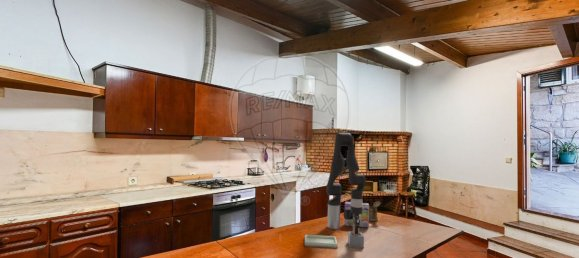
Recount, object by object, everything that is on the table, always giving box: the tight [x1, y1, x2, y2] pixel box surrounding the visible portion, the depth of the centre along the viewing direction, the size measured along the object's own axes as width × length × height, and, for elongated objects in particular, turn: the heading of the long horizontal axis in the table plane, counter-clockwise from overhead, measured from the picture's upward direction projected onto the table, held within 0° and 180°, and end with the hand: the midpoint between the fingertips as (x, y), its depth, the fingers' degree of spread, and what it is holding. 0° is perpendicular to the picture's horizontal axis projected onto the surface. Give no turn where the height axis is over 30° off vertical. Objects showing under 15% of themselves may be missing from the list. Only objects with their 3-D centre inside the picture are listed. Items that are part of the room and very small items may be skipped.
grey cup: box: [347, 230, 365, 249], centre depth 187 cm, size 9×9×7 cm
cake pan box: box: [343, 201, 370, 228], centre depth 229 cm, size 19×5×18 cm, turn 73°
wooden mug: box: [369, 200, 381, 222], centre depth 245 cm, size 9×14×18 cm, turn 13°
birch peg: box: [352, 224, 360, 235], centre depth 187 cm, size 4×4×13 cm
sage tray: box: [304, 234, 338, 249], centre depth 188 cm, size 14×20×2 cm
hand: (355, 232), depth 187 cm, fingers closed on birch peg, 4 cm apart
